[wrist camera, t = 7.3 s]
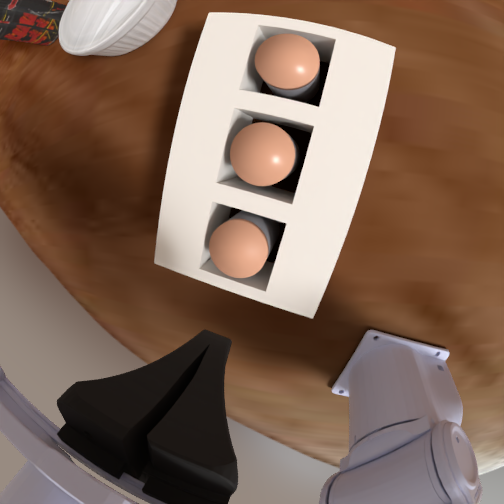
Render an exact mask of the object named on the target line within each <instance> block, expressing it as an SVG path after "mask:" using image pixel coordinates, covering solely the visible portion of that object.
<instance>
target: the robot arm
mask: <svg viewBox="0 0 504 504" xmlns="http://www.w3.org/2000/svg"><path fill="white" fill-rule="evenodd" d="M375 336H378V337H377V338H374V337H375ZM231 343H232V341H231V340H230V339H229V338H226V337H223V336H221V335H218V334H215V333H213V332H210V331H208V330H203V331H201V332H200V333H199V334H198V335H196V336H195V337H194V338H192V339H191V340H190V341H188V342H187V343H185V344H184V345H182V346H181V347H179V348H178V349H176V350H175V351H173V352H171V353H170V354H168V355H166V356H164V357H162V358H160V359H159V360H157V361H155V362H153V363H150V364H148V365H146V366H143V367H141V368H138V369H136V370H133V371H130V372H127V373H124V374H120V375H116V376H112V377H108V378H103V379H98V380H89V381H80V382H76V383H75V384H73V385H72V386H71V387H70V388H69V389H67V391H66V392H65V393H64V394H63V395H62V396H61V397H60V398H59V399H58V400H57V406H58V408H59V410H60V412H61V414H62V416H63V418H64V420H65V422H66V424H65V425H64V426H63V427H62V428H61V429H60V428H59V427H57V426H56V425H55V424H54V423H53V422H51V421H50V420H49V419H48V418H47V417H46V416H44V415H43V414H42V413H41V412H40V411H39V410H38V409H37V408H36V407H34V406H33V404H31V403H30V402H29V401H28V400H27V399H26V398H25V397H24V396H23V395H22V394H21V393H20V392H19V391H18V389H17V388H16V387H15V386H14V385H13V384H12V383H11V382H10V381H9V380H8V379H7V378H6V376H5V373H4V371H3V370H2V368H1V366H0V431H1V432H2V433H3V434H4V435H5V437H6V438H7V439H8V440H9V441H10V442H11V443H12V444H13V445H14V446H15V448H17V450H18V451H19V452H20V453H21V454H22V455H23V456H24V457H25V458H26V459H27V460H28V461H27V462H26V464H25V465H24V466H23V467H22V468H21V470H19V472H18V473H17V474H16V475H15V476H14V478H13V479H12V480H11V481H10V483H9V484H8V485H7V486H6V487H5V489H4V490H3V491H2V492H1V494H0V504H138V503H137V502H135V501H133V500H131V499H129V498H128V497H126V496H124V495H122V494H120V493H119V492H117V491H116V490H114V489H112V488H111V487H109V486H107V485H106V484H104V483H102V482H101V481H99V480H98V479H96V478H95V477H93V476H92V475H90V474H89V473H87V472H86V471H84V470H82V469H81V468H79V467H78V466H77V465H76V464H75V463H74V462H73V461H72V460H71V458H70V456H69V455H68V454H67V453H69V454H70V455H71V456H73V457H74V458H75V459H77V460H78V461H79V462H81V463H82V464H84V465H85V466H86V467H88V468H89V469H91V470H92V471H94V472H96V473H97V474H99V475H100V476H102V477H103V478H105V479H106V480H108V481H110V482H111V483H113V484H115V485H116V486H118V487H120V488H121V489H123V490H125V491H127V492H129V493H131V494H132V495H134V496H136V497H138V498H140V499H142V500H144V501H146V502H148V503H150V504H228V502H229V499H230V496H231V495H232V494H233V493H234V492H235V490H236V489H237V485H238V470H237V459H236V456H235V453H234V449H233V446H232V442H231V438H230V434H229V429H228V424H227V418H226V410H225V399H224V374H225V365H226V361H227V358H228V354H229V350H230V347H231ZM437 352H438V353H437ZM448 356H449V351H448V350H447V349H443V348H439V347H435V346H431V345H428V344H424V343H420V342H416V341H412V340H408V339H405V338H401V337H397V336H394V335H390V334H386V333H383V332H379V331H376V330H368V331H367V332H366V333H365V335H364V337H363V339H362V340H361V342H360V344H359V345H358V347H357V349H356V351H355V352H354V354H353V356H352V357H351V359H350V360H349V362H348V364H347V365H346V367H345V368H344V370H343V372H342V373H341V375H340V376H339V378H338V379H337V381H336V382H335V384H334V385H333V387H332V392H333V393H335V394H339V395H343V396H348V397H349V454H348V455H347V456H346V457H345V458H342V459H341V460H340V472H337V473H335V474H333V475H332V476H331V477H330V478H329V479H328V480H327V481H326V483H325V484H324V486H323V488H322V491H321V494H320V501H319V504H480V500H481V497H482V486H481V483H480V479H479V475H478V466H477V461H476V457H475V454H474V451H473V448H472V446H471V443H470V441H469V439H468V437H467V435H466V434H465V432H464V431H463V429H462V428H461V427H460V425H461V421H462V415H463V407H462V401H461V398H460V396H459V393H458V391H457V388H456V386H455V383H454V381H453V378H452V376H451V374H450V371H449V369H448V367H447V364H446V362H445V360H446V359H447V358H448ZM340 390H342V391H340ZM58 445H59V446H60V447H61V448H62V449H64V450H65V451H66V452H67V453H66V452H65V451H64V450H62V449H61V448H60V447H59V446H58Z"/></svg>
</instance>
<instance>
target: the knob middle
mask: <svg viewBox="0 0 504 504" xmlns="http://www.w3.org/2000/svg"><path fill="white" fill-rule="evenodd" d="M230 160H231V164H232V167H233V169H234V171H235V172H236V173H237V175H238V176H239V177H240V178H241V179H242V180H244V181H245V182H247V183H249V184H252V185H256V186H269V185H273V184H275V183H277V182H279V181H281V180H283V179H285V178H286V177H288V176H290V175H291V174H292V173H293V172H294V171H295V170H296V168H297V167H298V165H299V162H300V150H299V147H298V145H297V143H296V141H295V140H294V139H293V138H292V137H291V136H290V135H288V134H287V133H286V132H285V131H284V130H282V129H281V128H280V127H278V126H276V125H274V124H271V123H265V122H260V123H254V124H251V125H248V126H246V127H245V128H243V129H242V130H241V131H240V132H239V133H238V134H237V135H236V136H235V138H234V140H233V142H232V144H231V148H230Z"/></svg>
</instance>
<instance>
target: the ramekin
mask: <svg viewBox="0 0 504 504" xmlns="http://www.w3.org/2000/svg"><path fill="white" fill-rule="evenodd" d="M176 2H177V0H70V1H69V3H68V5H67V7H66V9H65V11H64V13H63V15H62V18H61V21H60V24H59V41H60V44H61V46H62V48H63V49H64V50H65V51H66V52H68V53H70V54H73V55H78V56H86V55H102V56H116V55H122V54H125V53H128V52H131V51H133V50H135V49H137V48H138V47H140V46H142V45H143V44H145V43H146V42H148V41H149V40H150V39H152V38H153V37H154V36H155V35H156V34H157V33H158V32H159V31H160V30H161V29H162V28H163V27H164V25H165V24H166V23H167V22H168V20H169V18H170V17H171V15H172V13H173V11H174V8H175V6H176Z"/></svg>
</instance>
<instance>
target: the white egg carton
mask: <svg viewBox="0 0 504 504" xmlns="http://www.w3.org/2000/svg"><path fill="white" fill-rule="evenodd" d="M278 34H295V35H299V36H302V37H304V38H306V39H307V40H309V41H310V42H311V43H312V44H313V45H314V46H315V48H316V49H317V51H318V54H319V59H320V61H322V62H326V63H330V66H329V70H328V74H327V78H326V82H325V86H324V90H323V94H322V98H321V102H320V105H319V107H317V106H313V105H310V104H306V103H302V102H298V101H294V100H290V99H286V98H281V97H277V96H272V95H267V94H262V93H260V91H261V87H262V84H263V79H262V77H261V76H260V75H259V73H258V71H257V69H256V66H255V54H256V52H257V50H258V48H259V46H260V45H261V44H262V43H263V42H264V41H265V40H267V39H268V38H270V37H272V36H275V35H278ZM394 54H395V47H393V46H390V45H388V44H385V43H382V42H380V41H377V40H374V39H371V38H368V37H365V36H362V35H359V34H355V33H352V32H349V31H345V30H341V29H338V28H334V27H330V26H326V25H321V24H317V23H312V22H307V21H302V20H296V19H290V18H283V17H276V16H267V15H257V14H244V13H209V15H208V17H207V20H206V23H205V26H204V28H203V31H202V34H201V37H200V40H199V43H198V46H197V49H196V52H195V56H194V59H193V62H192V65H191V69H190V72H189V76H188V79H187V83H186V87H185V90H184V94H183V98H182V102H181V106H180V110H179V114H178V118H177V122H176V127H175V131H174V136H173V141H172V146H171V150H170V156H169V161H168V166H167V172H166V177H165V183H164V189H163V196H162V202H161V209H160V217H159V224H158V232H157V241H156V250H155V260H154V263H155V264H158V265H160V266H163V267H165V268H168V269H170V270H173V271H176V272H178V273H181V274H184V275H186V276H189V277H192V278H194V279H197V280H200V281H202V282H205V283H208V284H211V285H213V286H216V287H219V288H222V289H225V290H227V291H230V292H233V293H236V294H239V295H242V296H245V297H248V298H251V299H253V300H256V301H259V302H262V303H265V304H268V305H271V306H274V307H277V308H280V309H284V310H287V311H290V312H293V313H296V314H299V315H302V316H306V317H309V318H312V319H313V317H314V315H315V313H316V310H317V308H318V306H319V303H320V301H321V299H322V296H323V294H324V291H325V289H326V286H327V284H328V282H329V279H330V277H331V274H332V272H333V269H334V266H335V264H336V261H337V259H338V256H339V253H340V251H341V248H342V245H343V243H344V240H345V237H346V234H347V231H348V229H349V226H350V223H351V220H352V217H353V214H354V211H355V208H356V205H357V202H358V199H359V196H360V193H361V190H362V186H363V183H364V180H365V177H366V173H367V170H368V167H369V163H370V160H371V156H372V153H373V149H374V145H375V141H376V138H377V134H378V130H379V126H380V122H381V118H382V114H383V109H384V105H385V101H386V96H387V91H388V87H389V82H390V77H391V71H392V66H393V60H394ZM253 119H258V120H263V121H267V122H271V123H276V124H280V125H284V126H288V127H292V128H295V129H299V130H303V131H306V132H310V133H312V136H311V139H310V143H309V147H308V150H307V154H306V158H305V161H304V165H303V168H302V172H301V175H300V179H299V183H298V186H297V190H296V193H293V192H289V191H286V190H283V189H279V188H276V187H272V186H256V185H252V184H249V183H247V182H245V181H244V180H242V179H241V178H240V177H239V176H238V175H237V173H236V172H235V171H234V169H233V167H232V164H231V160H230V148H231V144H232V142H233V140H234V138H235V136H236V135H237V134H238V133H239V132H240V131H241V130H242V129H243V128H245V127H246V126H248V125H251V124H252V121H253ZM231 207H233V208H237V209H240V210H242V211H240V212H239V213H237V214H236V215H234V216H233V217H232V218H230V219H229V215H230V211H231ZM278 221H280V222H283V223H286V227H285V231H284V234H283V237H282V241H281V244H280V247H279V251H278V254H277V257H276V261H275V264H274V263H271V262H268V261H266V260H267V258H268V256H269V254H270V252H271V250H272V248H273V246H274V244H275V243H276V241H277V239H278V236H279V231H280V228H279V223H278Z"/></svg>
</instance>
